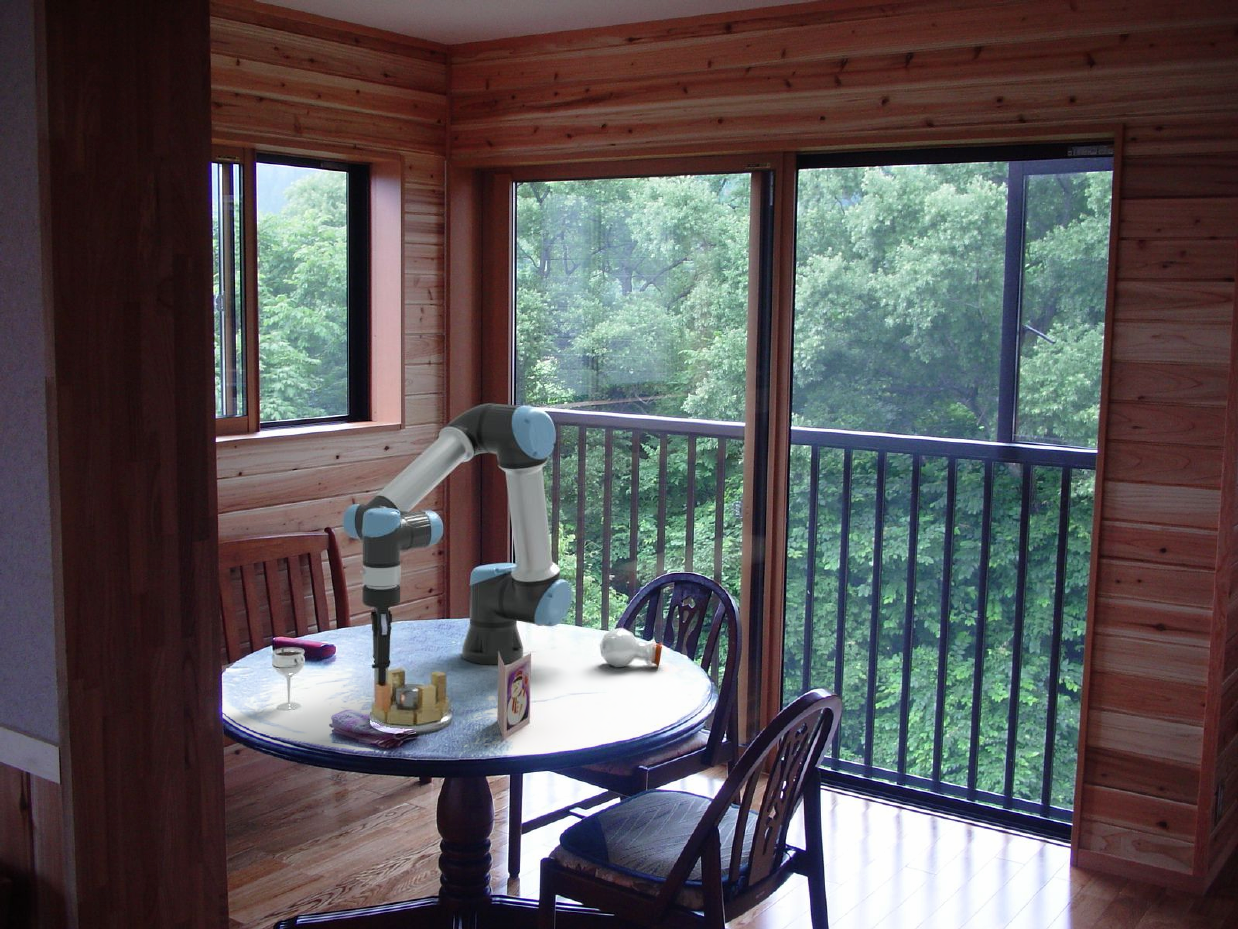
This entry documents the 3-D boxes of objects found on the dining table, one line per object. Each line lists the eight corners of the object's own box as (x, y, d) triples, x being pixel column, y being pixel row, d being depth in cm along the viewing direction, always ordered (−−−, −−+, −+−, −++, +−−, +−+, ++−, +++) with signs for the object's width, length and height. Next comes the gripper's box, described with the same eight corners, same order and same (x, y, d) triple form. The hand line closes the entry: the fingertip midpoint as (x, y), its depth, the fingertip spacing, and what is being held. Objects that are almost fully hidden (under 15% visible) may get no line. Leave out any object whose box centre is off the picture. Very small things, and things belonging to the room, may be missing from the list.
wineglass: (287, 713, 251) (287, 658, 250) (265, 707, 255) (265, 652, 253) (311, 705, 257) (311, 651, 255) (289, 699, 260) (289, 645, 259)
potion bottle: (596, 669, 294) (656, 678, 294) (598, 656, 285) (660, 665, 285) (601, 634, 298) (660, 643, 298) (603, 619, 290) (664, 629, 289)
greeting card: (507, 740, 239) (508, 667, 237) (475, 734, 242) (476, 662, 240) (533, 723, 249) (534, 653, 248) (502, 717, 252) (503, 648, 250)
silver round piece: (445, 705, 259) (445, 673, 258) (458, 731, 243) (458, 698, 242) (365, 710, 254) (365, 678, 253) (373, 738, 238) (373, 704, 237)
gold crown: (425, 696, 259) (425, 664, 258) (460, 715, 247) (461, 681, 246) (361, 708, 250) (361, 675, 249) (395, 729, 238) (395, 694, 237)
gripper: (359, 578, 247) (359, 688, 250) (365, 593, 235) (365, 708, 238) (396, 576, 249) (395, 685, 253) (404, 591, 237) (403, 705, 240)
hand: (381, 696), depth 245 cm, fingers closed
